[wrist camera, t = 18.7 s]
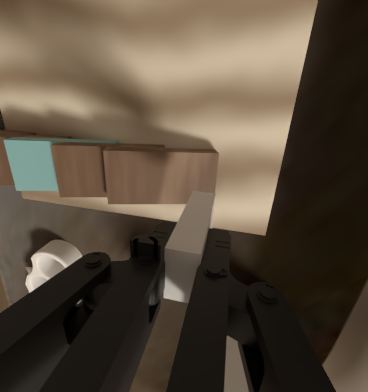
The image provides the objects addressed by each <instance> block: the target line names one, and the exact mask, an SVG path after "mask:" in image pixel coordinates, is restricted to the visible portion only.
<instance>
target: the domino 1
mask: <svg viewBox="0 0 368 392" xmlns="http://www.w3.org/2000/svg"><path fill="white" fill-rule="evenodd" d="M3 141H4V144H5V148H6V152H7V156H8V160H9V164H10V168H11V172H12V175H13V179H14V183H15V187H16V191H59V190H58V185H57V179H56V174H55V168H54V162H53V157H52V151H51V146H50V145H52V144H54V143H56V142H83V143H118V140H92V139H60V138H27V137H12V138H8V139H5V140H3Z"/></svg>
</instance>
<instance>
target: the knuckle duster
mask: <svg viewBox="0 0 368 392" xmlns="http://www.w3.org/2000/svg"><path fill="white" fill-rule="evenodd" d="M81 257H82V255H81V253H80V252H79V250H78V249H77V248H76V247H74V246H73V245H72V244H70V243H68V242H66V241H63V240H52V241H50V242H49V243H48V244H46V245H45V246H44V247H42V248H41V249H40V250H38V251H37V252H36V253H34V254H33V255H32V257H31V261H32V264H33V267H26V269H27V271H28V273H29V274H28V275H27V278H26V283H25V285H26V286H27V288H28V290H29V293H30V292H32V291H33V290H34V289H36V288H37V287H39V286H40V285H42V284H43V283H45V282H46V281H48V280H49V279H50V278H52V277H53V276H55V275H56V274H58V273H59V272H61V271H62V270H63V269H65V268H66V267H68V266H69V265H71V264H72V263H74V262H75V261H76V260H78V259H79V258H81ZM80 301H82V299H81V300H80ZM80 301H79V302H80ZM79 302H78V303H79ZM78 303H77V304H78Z"/></svg>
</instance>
